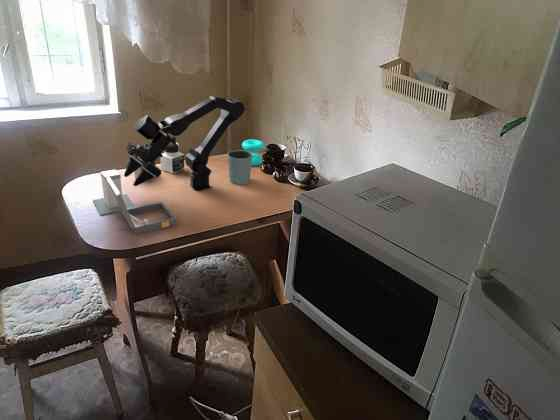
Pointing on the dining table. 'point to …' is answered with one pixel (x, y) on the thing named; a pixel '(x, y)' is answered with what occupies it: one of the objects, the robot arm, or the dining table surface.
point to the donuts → (254, 150)
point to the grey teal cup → (239, 166)
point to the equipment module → (107, 190)
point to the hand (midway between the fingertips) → (129, 180)
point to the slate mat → (105, 210)
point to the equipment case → (142, 209)
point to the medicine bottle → (172, 159)
